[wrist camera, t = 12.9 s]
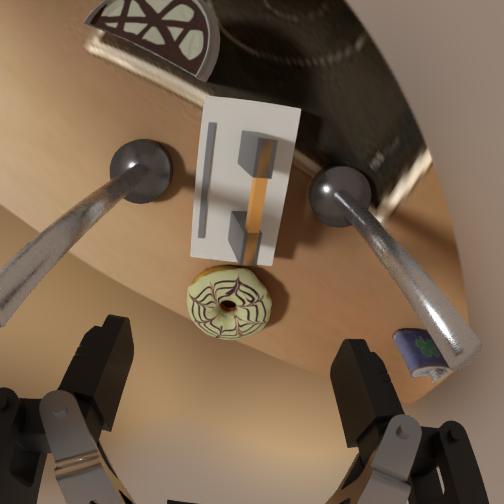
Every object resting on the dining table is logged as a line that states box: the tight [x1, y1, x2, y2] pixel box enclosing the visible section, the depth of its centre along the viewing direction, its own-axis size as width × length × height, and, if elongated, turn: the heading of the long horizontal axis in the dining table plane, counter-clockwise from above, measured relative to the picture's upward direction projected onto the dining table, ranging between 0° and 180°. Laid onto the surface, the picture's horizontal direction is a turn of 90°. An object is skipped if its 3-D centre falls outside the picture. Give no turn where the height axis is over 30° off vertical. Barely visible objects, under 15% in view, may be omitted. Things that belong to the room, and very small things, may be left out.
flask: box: [393, 328, 451, 383], centre depth 39 cm, size 9×3×11 cm, turn 74°
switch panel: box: [191, 96, 301, 266], centre depth 30 cm, size 9×17×3 cm, turn 172°
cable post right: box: [308, 164, 482, 371], centre depth 21 cm, size 7×7×24 cm
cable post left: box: [0, 139, 173, 327], centre depth 20 cm, size 7×7×24 cm
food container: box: [83, 0, 220, 83], centre depth 19 cm, size 12×6×10 cm, turn 55°
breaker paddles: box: [228, 130, 278, 265], centre depth 26 cm, size 2×11×5 cm, turn 172°
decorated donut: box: [187, 266, 272, 340], centre depth 37 cm, size 10×11×4 cm
